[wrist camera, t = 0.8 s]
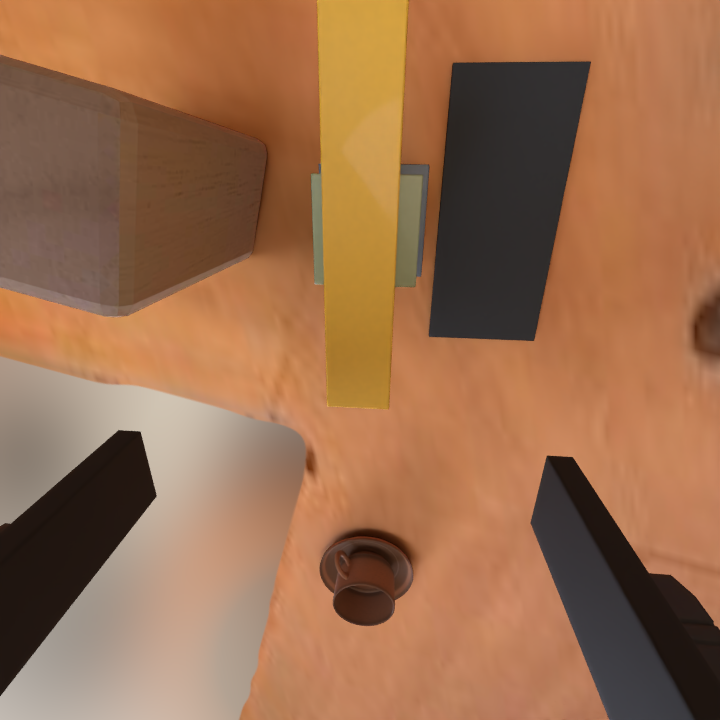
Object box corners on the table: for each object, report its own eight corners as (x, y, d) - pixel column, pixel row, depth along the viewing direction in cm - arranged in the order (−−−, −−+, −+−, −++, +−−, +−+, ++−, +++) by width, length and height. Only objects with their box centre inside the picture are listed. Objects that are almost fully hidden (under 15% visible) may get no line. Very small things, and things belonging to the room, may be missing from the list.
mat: (452, 64, 30) (453, 62, 30) (588, 63, 29) (591, 61, 29) (428, 335, 39) (429, 336, 39) (532, 339, 38) (534, 340, 38)
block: (156, 109, 33) (-141, 12, 15) (272, 143, 33) (123, 90, 15) (151, 230, 37) (-87, 272, 19) (254, 259, 37) (120, 329, 19)
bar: (331, 32, 19) (316, -5, 15) (406, 32, 18) (409, -7, 15) (336, 375, 26) (326, 406, 22) (389, 378, 26) (388, 410, 22)
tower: (333, 167, 34) (294, 156, 21) (422, 168, 33) (440, 157, 20) (334, 258, 37) (301, 297, 24) (416, 260, 36) (428, 301, 23)
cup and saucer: (305, 563, 53) (294, 607, 48) (356, 512, 49) (351, 554, 43) (376, 603, 55) (373, 650, 50) (431, 558, 51) (436, 604, 45)
